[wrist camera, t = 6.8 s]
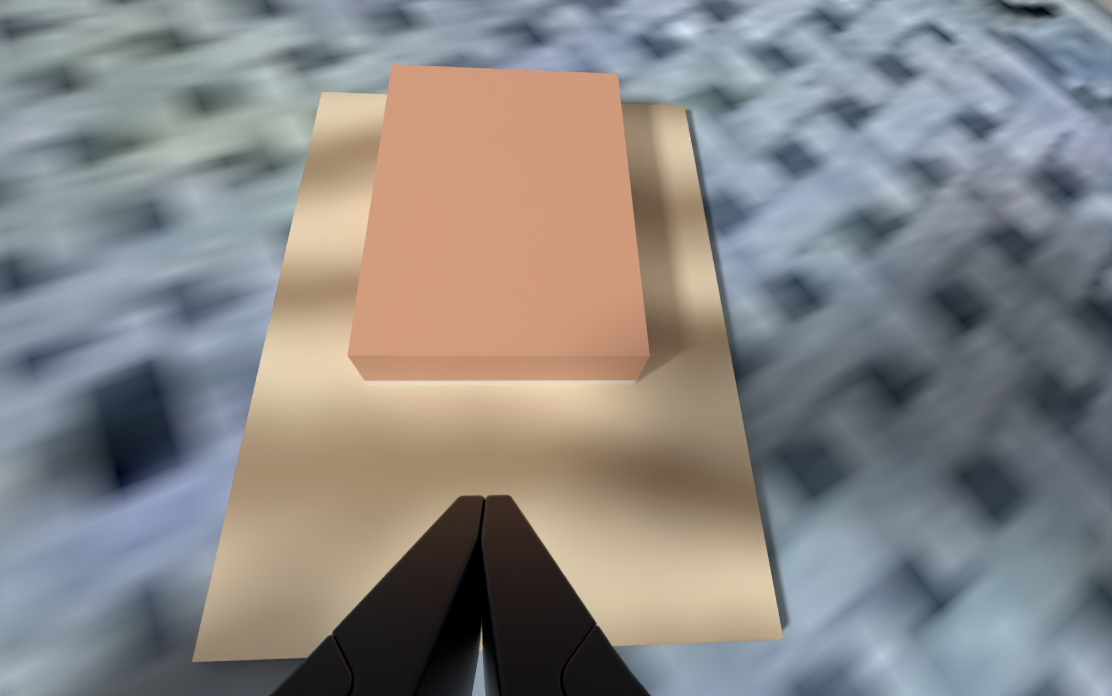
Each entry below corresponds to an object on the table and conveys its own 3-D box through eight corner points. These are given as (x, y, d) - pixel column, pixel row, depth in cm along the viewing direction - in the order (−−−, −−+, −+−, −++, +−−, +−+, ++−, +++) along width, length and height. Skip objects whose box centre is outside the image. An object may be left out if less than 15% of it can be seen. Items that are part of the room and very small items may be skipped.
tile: (649, 356, 18) (617, 73, 24) (347, 355, 17) (391, 64, 23) (634, 384, 20) (608, 120, 26) (367, 384, 20) (403, 113, 26)
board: (775, 638, 18) (783, 639, 17) (202, 660, 16) (191, 662, 16) (681, 115, 28) (684, 105, 27) (325, 102, 26) (321, 91, 26)
